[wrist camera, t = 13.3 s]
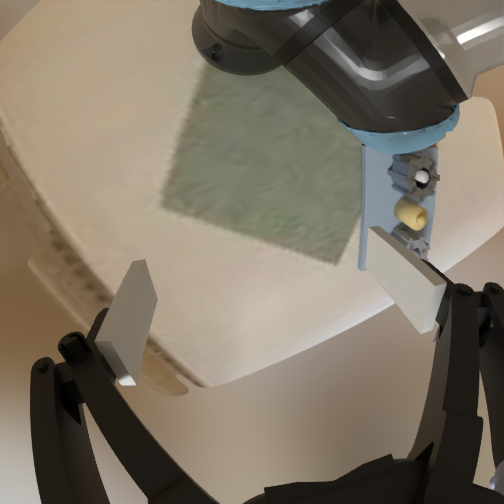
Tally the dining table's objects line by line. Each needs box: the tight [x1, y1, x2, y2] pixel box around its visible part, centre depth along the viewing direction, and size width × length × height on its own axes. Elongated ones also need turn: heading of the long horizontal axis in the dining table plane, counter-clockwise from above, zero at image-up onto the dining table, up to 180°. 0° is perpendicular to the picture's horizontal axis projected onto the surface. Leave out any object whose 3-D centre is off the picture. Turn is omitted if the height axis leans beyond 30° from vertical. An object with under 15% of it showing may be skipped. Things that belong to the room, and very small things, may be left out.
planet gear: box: [387, 151, 440, 202], centre depth 38 cm, size 8×8×5 cm
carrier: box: [358, 145, 438, 271], centre depth 41 cm, size 22×16×7 cm
